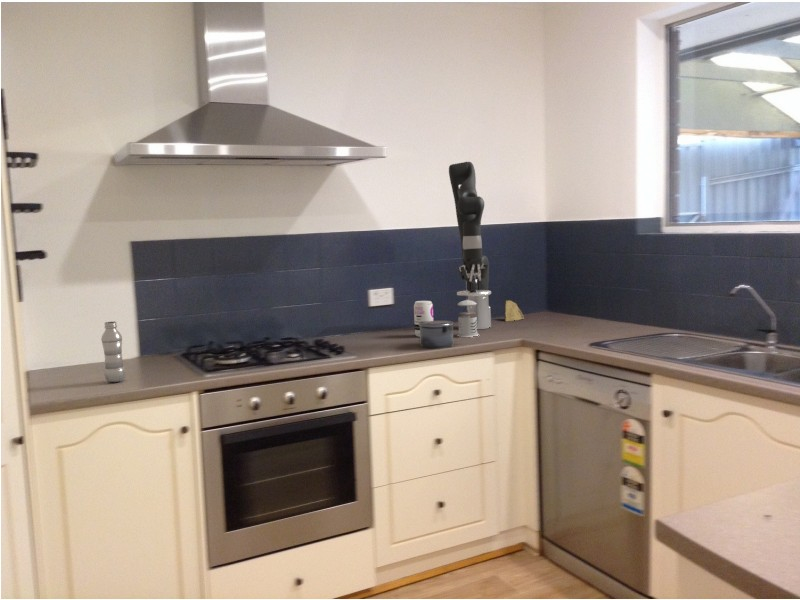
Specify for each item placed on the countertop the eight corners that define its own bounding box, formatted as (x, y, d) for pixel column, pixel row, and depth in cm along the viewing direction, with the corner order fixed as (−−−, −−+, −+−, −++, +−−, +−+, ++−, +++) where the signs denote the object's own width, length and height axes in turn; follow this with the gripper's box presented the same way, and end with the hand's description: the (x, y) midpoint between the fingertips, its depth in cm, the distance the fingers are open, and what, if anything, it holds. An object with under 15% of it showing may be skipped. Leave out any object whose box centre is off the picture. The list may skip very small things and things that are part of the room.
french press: (454, 337, 285) (452, 278, 282) (460, 333, 296) (458, 276, 293) (477, 337, 282) (475, 278, 279) (482, 333, 293) (480, 275, 290)
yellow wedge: (523, 313, 335) (503, 311, 336) (526, 301, 329) (505, 298, 330) (523, 328, 327) (503, 326, 328) (526, 316, 321) (505, 314, 322)
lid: (476, 291, 279) (476, 277, 278) (498, 293, 268) (497, 278, 267) (450, 294, 272) (449, 279, 271) (470, 296, 261) (470, 281, 260)
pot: (438, 340, 278) (437, 319, 277) (464, 346, 263) (463, 323, 262) (410, 344, 271) (409, 322, 270) (435, 350, 256) (434, 327, 255)
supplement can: (434, 334, 296) (433, 300, 295) (433, 337, 288) (432, 302, 286) (415, 334, 297) (414, 300, 295) (414, 337, 289) (413, 302, 287)
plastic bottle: (107, 385, 219) (102, 324, 217) (103, 381, 225) (97, 322, 223) (128, 381, 223) (123, 322, 221) (123, 378, 229) (118, 320, 227)
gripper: (480, 246, 275) (481, 288, 277) (452, 248, 267) (454, 291, 269) (492, 246, 268) (493, 289, 270) (463, 248, 261) (465, 292, 263)
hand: (473, 290), depth 270 cm, fingers closed on lid, 3 cm apart
